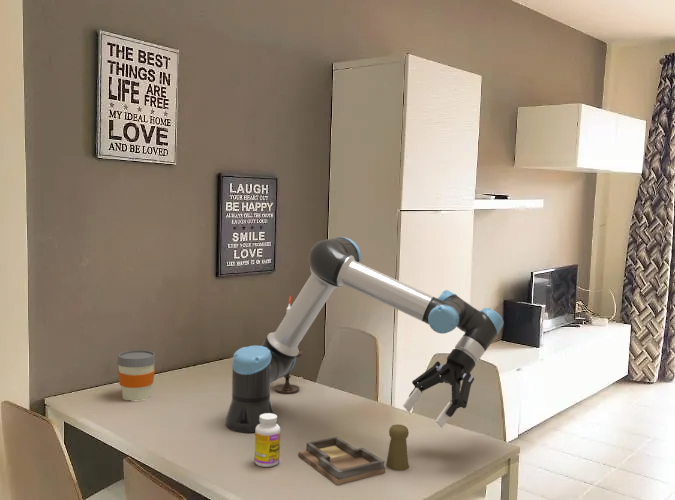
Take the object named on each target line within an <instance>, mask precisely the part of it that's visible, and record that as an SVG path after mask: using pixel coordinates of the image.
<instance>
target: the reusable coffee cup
mask: <svg viewBox="0 0 675 500" xmlns="http://www.w3.org/2000/svg"><path fill="white" fill-rule="evenodd" d="M116 362H117V363H116V364H117V365H118V372H117V375H118V380H119V381H118V382H119V385H120V386H121V395H122V400H124V399H125V400H124V401H126V400H131V401H130V402H135V401H134V400H142V399H146V398H148V397H149V396H150V397H151V390H152V384H154V380H155V371H156V369H155V364H156V362H157V361H156V354H155V352H154V351H151V350H144V349H138V350H137V349H135V350H126V351H123V352H119V354H118V356H117V361H116ZM148 399H149V398H148ZM146 400H147V399H146Z"/></svg>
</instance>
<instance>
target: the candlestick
mask: <svg viewBox="0 0 675 500" xmlns="http://www.w3.org/2000/svg"><path fill="white" fill-rule="evenodd" d="M291 302H292V297H291V295H290V296H288V302H287V303H288V306H287V307H286V313H287V312H288V311H289V309H290V308H291V306H292V305H291ZM298 349H299V353H298V355H297V356H296V359H297V358H300V357H302V356H304V351H303V350H302V349H301V348H298ZM291 372H292V370H291V371H290V372H289V373H288V374H286V375H285V376H283V378H284V379H285V382H284V383H283V384H277V385H276V386H274V392H275V393H277V394H280V395H293V394H297V393H299V392H300V386H299V385H296V384H292V383H290V378H292V376H291Z"/></svg>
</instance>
